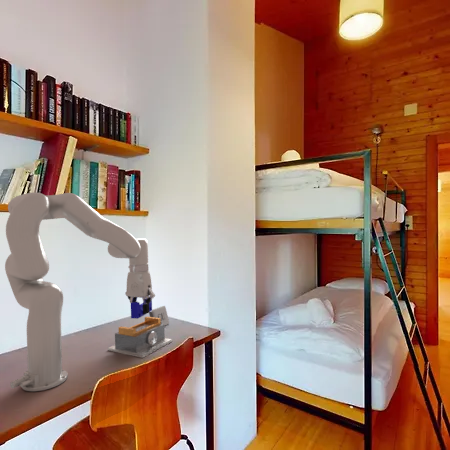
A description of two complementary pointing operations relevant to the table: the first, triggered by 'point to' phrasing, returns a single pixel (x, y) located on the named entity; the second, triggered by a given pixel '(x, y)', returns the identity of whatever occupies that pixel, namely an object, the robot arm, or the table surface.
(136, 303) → the blue u-shaped block
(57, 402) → the table surface
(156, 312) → the electrical switch
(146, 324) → the motor housing
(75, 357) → the table surface
